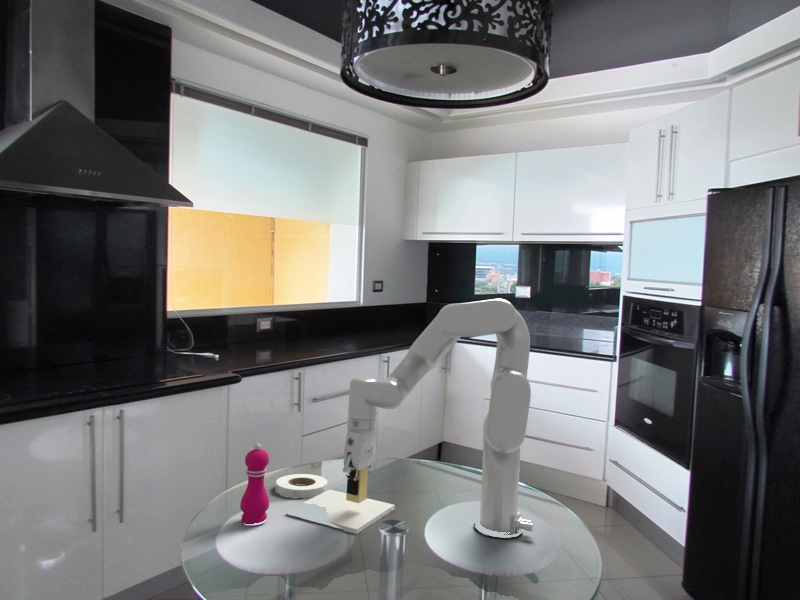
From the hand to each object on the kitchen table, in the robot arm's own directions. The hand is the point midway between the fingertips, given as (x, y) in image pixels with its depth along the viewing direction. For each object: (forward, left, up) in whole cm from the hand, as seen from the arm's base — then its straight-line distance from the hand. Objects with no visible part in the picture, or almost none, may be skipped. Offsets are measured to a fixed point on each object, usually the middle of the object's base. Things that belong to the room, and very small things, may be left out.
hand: (357, 490), depth 146 cm
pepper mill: (+20, +18, -7) cm, 27 cm away
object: (+25, -8, -7) cm, 27 cm away
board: (+5, 0, -7) cm, 8 cm away
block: (0, 0, -2) cm, 2 cm away
